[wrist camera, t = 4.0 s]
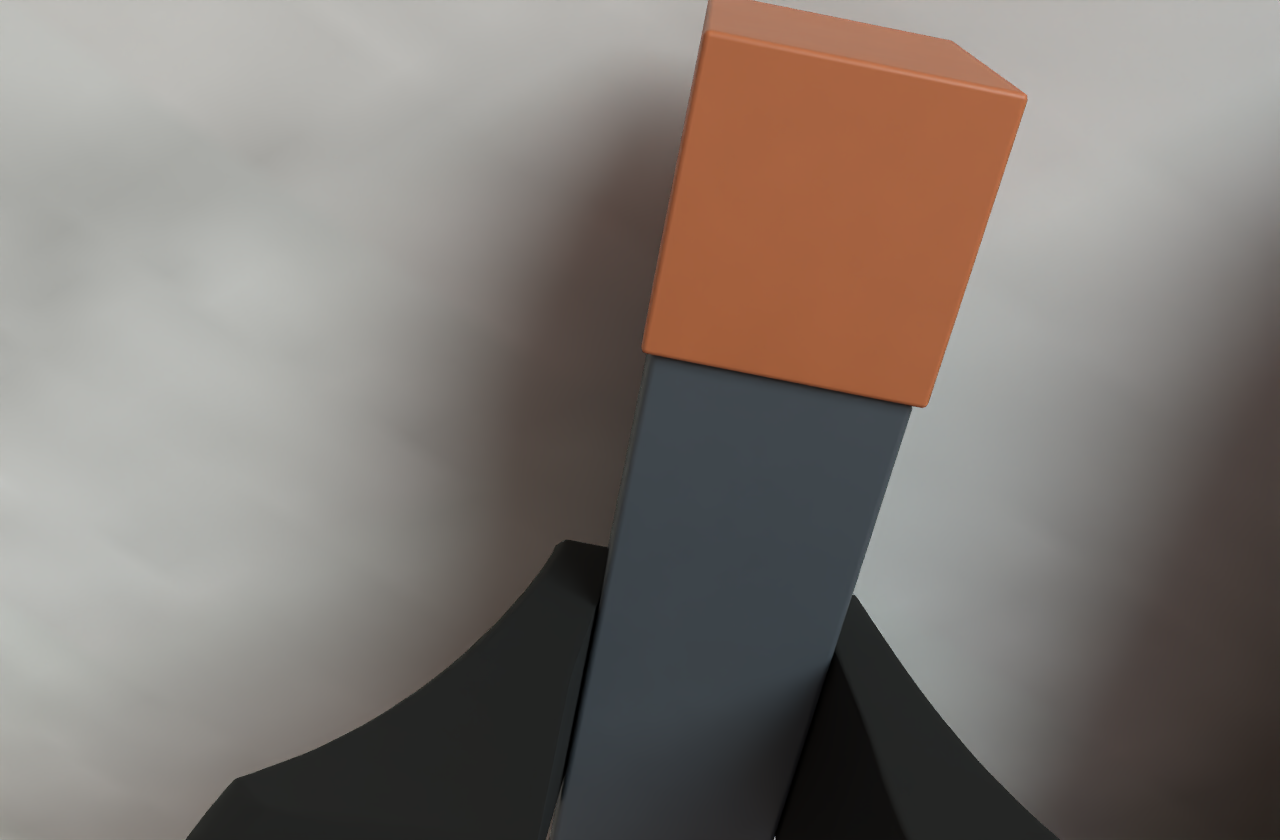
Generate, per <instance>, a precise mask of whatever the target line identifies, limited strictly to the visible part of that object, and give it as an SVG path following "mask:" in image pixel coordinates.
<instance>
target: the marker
mask: <svg viewBox="0 0 1280 840" xmlns="http://www.w3.org/2000/svg"><path fill="white" fill-rule="evenodd" d="M1026 103H1027V95H1026V94H1025V93H1023V92H1022V91H1021V90H1019V89H1018V88H1016V87H1015V86H1014V85H1012V84H1011V83H1010V82H1008V81H1007V80H1005V79H1004V78H1003V77H1001V76H1000V75H998V74H997V73H996V72H994V71H993V70H991V69H990V68H989V67H987V66H986V65H985V64H983V63H982V62H980V61H979V60H978V59H976V58H975V57H973V56H972V55H971V54H969V53H968V52H966V51H965V50H964V49H962V48H961V47H960V46H958V45H957V44H955V43H954V42H953V41H950V40H945V39H940V38H936V37H931V36H926V35H921V34H916V33H911V32H906V31H901V30H896V29H891V28H886V27H881V26H876V25H871V24H866V23H861V22H856V21H851V20H846V19H841V18H837V17H832V16H827V15H822V14H817V13H812V12H807V11H802V10H797V9H792V8H787V7H782V6H777V5H772V4H767V3H762V2H757V1H752V0H709V1H708V6H707V11H706V16H705V21H704V26H703V31H702V36H701V41H700V46H699V51H698V56H697V61H696V66H695V71H694V77H693V82H692V87H691V92H690V97H689V102H688V107H687V112H686V117H685V122H684V127H683V132H682V137H681V142H680V147H679V153H678V158H677V163H676V168H675V173H674V178H673V183H672V188H671V193H670V198H669V203H668V208H667V213H666V218H665V223H664V229H663V234H662V239H661V244H660V249H659V254H658V260H657V265H656V270H655V276H654V281H653V286H652V292H651V297H650V302H649V308H648V313H647V318H646V324H645V329H644V334H643V340H642V345H641V348H642V351H643V352H644V353H646V354H647V355H646V360H645V365H644V370H643V375H642V380H641V385H640V390H639V395H638V400H637V405H636V410H635V415H634V420H633V425H632V430H631V435H630V440H629V445H628V450H627V455H626V460H625V465H624V470H623V475H622V480H621V485H620V490H619V495H618V500H617V505H616V510H615V515H614V520H613V524H612V529H611V534H610V539H609V544H608V548H609V551H608V557H607V563H606V569H605V575H604V581H603V587H602V593H601V598H600V603H599V607H598V612H597V617H596V622H595V627H594V632H593V637H592V642H591V647H590V652H589V657H588V662H587V667H586V672H585V677H584V682H583V687H582V692H581V697H580V702H579V707H578V712H577V716H576V721H575V726H574V731H573V736H572V741H571V746H570V751H569V756H568V761H567V766H566V771H565V776H564V779H563V782H562V786H561V789H560V793H559V796H558V799H557V803H556V808H555V813H554V818H553V823H552V828H551V833H550V838H549V840H774V837H775V834H776V831H777V828H778V825H779V822H780V818H781V815H782V812H783V809H784V806H785V803H786V800H787V797H788V793H789V790H790V787H791V784H792V781H793V778H794V775H795V772H796V769H797V765H798V762H799V759H800V756H801V753H802V750H803V747H804V744H805V741H806V737H807V734H808V731H809V728H810V725H811V722H812V719H813V716H814V713H815V709H816V706H817V703H818V700H819V697H820V694H821V691H822V688H823V685H824V681H825V678H826V675H827V672H828V669H829V666H830V663H831V660H832V657H833V653H834V650H835V647H836V644H837V641H838V638H839V635H840V632H841V629H842V625H843V622H844V619H845V616H846V613H847V610H848V607H849V604H850V601H851V597H852V594H853V591H854V588H855V585H856V582H857V579H858V576H859V572H860V569H861V566H862V563H863V560H864V557H865V554H866V551H867V548H868V544H869V541H870V538H871V535H872V532H873V529H874V526H875V523H876V520H877V516H878V513H879V510H880V507H881V504H882V501H883V498H884V495H885V492H886V488H887V485H888V482H889V479H890V476H891V473H892V470H893V467H894V464H895V460H896V457H897V454H898V451H899V448H900V445H901V442H902V439H903V436H904V432H905V429H906V426H907V423H908V420H909V417H910V414H911V411H912V406H915V407H920V408H924V407H926V406H927V404H928V402H929V399H930V396H931V393H932V390H933V387H934V384H935V381H936V378H937V375H938V372H939V369H940V366H941V363H942V360H943V357H944V354H945V351H946V347H947V344H948V341H949V338H950V335H951V332H952V329H953V326H954V323H955V320H956V317H957V314H958V311H959V308H960V305H961V302H962V299H963V296H964V292H965V289H966V286H967V283H968V280H969V277H970V274H971V271H972V268H973V265H974V262H975V259H976V256H977V253H978V250H979V247H980V244H981V241H982V238H983V234H984V231H985V228H986V225H987V222H988V219H989V216H990V213H991V210H992V207H993V204H994V201H995V198H996V195H997V192H998V189H999V186H1000V183H1001V180H1002V176H1003V173H1004V170H1005V167H1006V164H1007V161H1008V158H1009V155H1010V152H1011V149H1012V146H1013V143H1014V140H1015V137H1016V134H1017V131H1018V128H1019V125H1020V122H1021V118H1022V115H1023V112H1024V109H1025V106H1026Z"/></svg>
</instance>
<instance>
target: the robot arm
mask: <svg viewBox="0 0 1280 840" xmlns="http://www.w3.org/2000/svg"><path fill="white" fill-rule="evenodd" d="M608 551H609V548H608V547H603V546H597V545H592V544H587V543H582V542H577V541H572V540H564V541H563V542H561V543H559V544H558V545H556V547H555V549H554V551H553V553H552V555H551V556H550V558H549V559H548V561H547V563H546V564H545V566H544V567H543V569H542V570H541V571H540V573H539V574H538V575H537V577H536V578H535V579H534V580H533V582H532V583H531V584H530V586H529V587H528V588H527V589H526V591H525V592H524V593H523V594H522V595H521V596H520V597H519V599H518V600H517V601H516V602H515V603H514V604H513V605H512V606H511V608H510V609H509V610H508V611H507V612H506V613H505V614H504V615H503V617H502V618H501V619H500V620H499V621H498V622H497V623H496V624H495V625H494V626H493V627H492V628H491V629H490V630H489V631H488V632H486V633H485V634H484V635H483V636H482V637H481V638H480V639H479V640H478V641H477V642H476V643H475V644H474V645H473V646H472V647H471V648H470V649H469V650H468V651H467V652H465V653H464V654H463V655H462V656H461V657H460V658H459V659H457V660H456V661H455V662H454V663H453V664H451V665H450V666H449V667H448V668H447V669H445V670H444V671H443V672H442V673H440V674H439V675H438V676H436V677H435V678H434V679H432V680H431V681H430V682H429V683H427V684H426V685H425V686H423V687H422V688H421V689H419V690H418V691H416V692H415V693H413V694H412V695H410V696H409V697H407V698H406V699H404V700H403V701H401V702H400V703H398V704H397V705H395V706H394V707H392V708H391V709H389V710H388V711H386V712H385V713H383V714H381V715H380V716H378V717H376V718H375V719H373V720H371V721H370V722H368V723H366V724H364V725H363V726H361V727H359V728H357V729H355V730H353V731H351V732H349V733H347V734H345V735H343V736H341V737H339V738H337V739H335V740H333V741H331V742H329V743H327V744H325V745H323V746H321V747H319V748H317V749H315V750H312V751H310V752H308V753H305V754H303V755H300V756H298V757H295V758H292V759H290V760H287V761H284V762H281V763H279V764H276V765H273V766H271V767H268V768H265V769H262V770H260V771H257V772H254V773H252V774H248V775H245V776H242V777H239V778H237V779H235V780H234V781H233V782H232V783H231V784H230V785H229V786H228V787H227V788H226V789H225V791H224V792H223V793H222V794H221V795H220V797H219V798H218V799H217V800H216V801H215V803H214V804H213V805H212V806H211V807H210V808H209V810H208V811H207V812H206V813H205V815H204V816H203V817H202V819H201V820H200V821H199V823H198V824H197V825H196V827H195V828H194V829H193V830H192V832H191V833H190V834H189V836H188V837H187V838H186V840H545V839H546V836H547V833H548V829H549V826H550V823H551V819H552V816H553V813H554V809H555V806H556V803H557V799H558V796H559V793H560V789H561V786H562V782H563V779H564V776H565V771H566V766H567V761H568V756H569V751H570V746H571V741H572V736H573V731H574V726H575V721H576V716H577V712H578V707H579V702H580V697H581V692H582V687H583V682H584V677H585V672H586V667H587V662H588V657H589V652H590V647H591V642H592V637H593V632H594V627H595V622H596V617H597V612H598V607H599V603H600V598H601V593H602V587H603V581H604V575H605V569H606V563H607V557H608ZM775 837H776V840H1060V839H1059V838H1058V837H1056V836H1055V835H1054V834H1053V833H1052V832H1051V831H1049V830H1048V829H1047V828H1046V827H1045V826H1043V825H1042V824H1041V823H1040V822H1039V821H1038V820H1037V819H1036V818H1035V817H1034V816H1033V815H1031V814H1030V813H1029V812H1028V811H1027V810H1026V809H1025V808H1024V807H1023V806H1022V805H1021V804H1020V803H1019V802H1018V801H1017V800H1016V799H1015V798H1014V797H1013V796H1012V795H1011V794H1010V793H1009V792H1008V791H1007V790H1006V789H1005V788H1004V787H1003V786H1002V785H1001V784H1000V783H999V782H998V781H997V780H996V779H995V778H994V777H993V776H992V775H991V774H990V773H989V772H988V771H987V770H986V769H985V768H984V767H983V765H982V764H981V763H980V762H979V761H978V760H977V759H976V758H975V757H974V756H973V755H972V753H971V752H970V751H969V750H968V749H967V748H966V746H965V745H964V744H963V743H962V742H961V740H960V739H959V738H958V737H957V736H956V734H955V733H954V732H953V731H952V730H951V728H950V727H949V726H948V725H947V724H946V722H945V721H944V720H943V719H942V718H941V716H940V715H939V714H938V712H937V711H936V710H935V709H934V707H933V706H932V705H931V704H930V702H929V701H928V700H927V698H926V697H925V696H924V694H923V693H922V692H921V690H920V689H919V688H918V686H917V685H916V683H915V682H914V681H913V679H912V678H911V677H910V675H909V674H908V672H907V671H906V670H905V668H904V667H903V665H902V664H901V662H900V661H899V660H898V658H897V657H896V655H895V654H894V652H893V651H892V649H891V648H890V646H889V645H888V643H887V642H886V641H885V639H884V638H883V636H882V635H881V633H880V632H879V630H878V629H877V627H876V626H875V624H874V623H873V621H872V620H871V618H870V616H869V615H868V613H867V612H866V610H865V609H864V607H863V606H862V605H861V603H860V602H859V600H858V599H857V597H856V596H855V595H852V597H851V601H850V604H849V607H848V610H847V613H846V616H845V619H844V622H843V625H842V629H841V632H840V635H839V638H838V641H837V644H836V647H835V650H834V653H833V657H832V660H831V663H830V666H829V669H828V672H827V675H826V678H825V681H824V685H823V688H822V691H821V694H820V697H819V700H818V703H817V706H816V709H815V713H814V716H813V719H812V722H811V725H810V728H809V731H808V734H807V737H806V741H805V744H804V747H803V750H802V753H801V756H800V759H799V762H798V765H797V769H796V772H795V775H794V778H793V781H792V784H791V787H790V790H789V793H788V797H787V800H786V803H785V806H784V809H783V812H782V815H781V818H780V822H779V825H778V828H777V831H776V834H775Z"/></svg>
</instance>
